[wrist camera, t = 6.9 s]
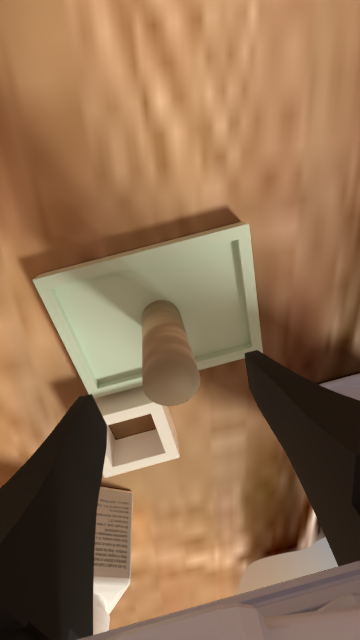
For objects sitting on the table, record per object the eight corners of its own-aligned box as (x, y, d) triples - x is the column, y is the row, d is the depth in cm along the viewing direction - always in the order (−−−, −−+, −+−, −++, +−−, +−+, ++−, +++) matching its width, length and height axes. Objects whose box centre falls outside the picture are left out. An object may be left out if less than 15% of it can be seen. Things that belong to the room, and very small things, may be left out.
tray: (241, 221, 18) (248, 223, 17) (256, 344, 23) (262, 353, 21) (39, 274, 18) (32, 280, 17) (94, 387, 22) (91, 399, 21)
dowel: (177, 296, 19) (196, 352, 12) (183, 330, 20) (203, 399, 14) (137, 304, 19) (136, 365, 12) (146, 338, 20) (149, 411, 14)
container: (110, 532, 31) (91, 735, 20) (39, 524, 29) (-29, 747, 17) (134, 489, 29) (129, 694, 17) (59, 477, 26) (-7, 703, 15)
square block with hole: (158, 377, 23) (160, 400, 20) (176, 431, 26) (179, 457, 23) (82, 398, 23) (74, 423, 20) (108, 449, 26) (105, 477, 23)
